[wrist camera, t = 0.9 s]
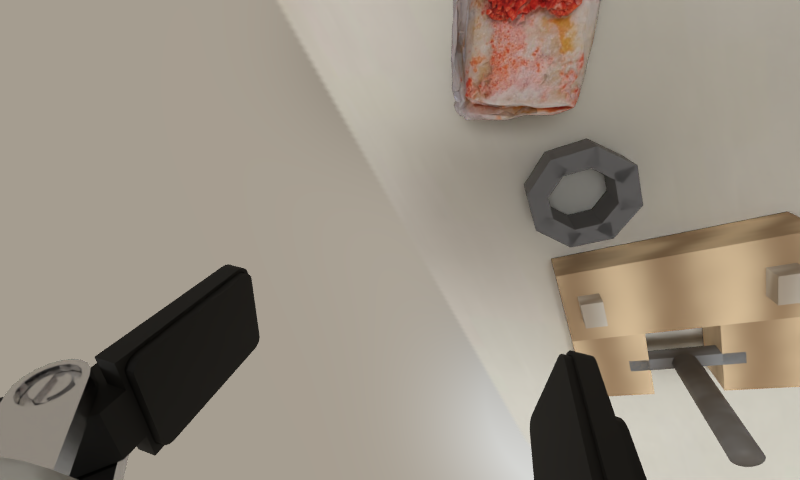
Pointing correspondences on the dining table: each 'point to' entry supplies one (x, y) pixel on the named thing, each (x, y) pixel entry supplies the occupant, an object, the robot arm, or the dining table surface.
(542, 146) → the dining table surface
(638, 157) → the dining table surface
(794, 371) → the toggle switch panel
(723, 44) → the dining table surface
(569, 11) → the food item
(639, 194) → the faceted grey ring
